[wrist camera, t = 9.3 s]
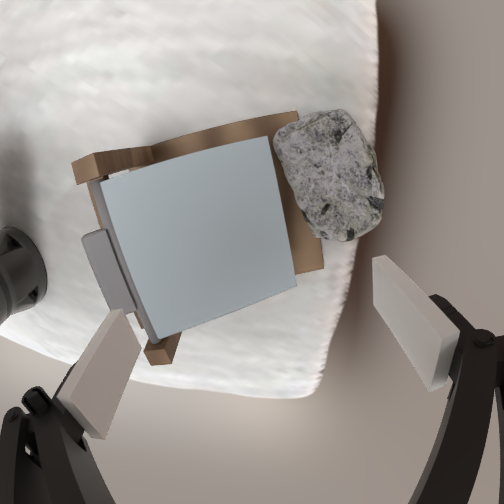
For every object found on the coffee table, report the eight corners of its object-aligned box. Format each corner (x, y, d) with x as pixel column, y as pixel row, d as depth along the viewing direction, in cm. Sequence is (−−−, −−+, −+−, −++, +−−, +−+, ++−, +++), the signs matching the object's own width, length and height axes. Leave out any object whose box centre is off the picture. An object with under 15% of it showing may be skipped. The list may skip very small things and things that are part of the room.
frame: (169, 296, 42) (137, 366, 28) (124, 155, 35) (57, 169, 20) (322, 266, 40) (355, 332, 26) (295, 111, 33) (325, 92, 19)
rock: (312, 252, 34) (323, 231, 40) (397, 230, 29) (394, 211, 35) (262, 131, 31) (282, 130, 37) (348, 96, 25) (353, 102, 31)
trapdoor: (131, 344, 28) (132, 353, 27) (70, 190, 22) (65, 192, 21) (291, 283, 33) (299, 289, 32) (260, 134, 28) (268, 132, 26)
